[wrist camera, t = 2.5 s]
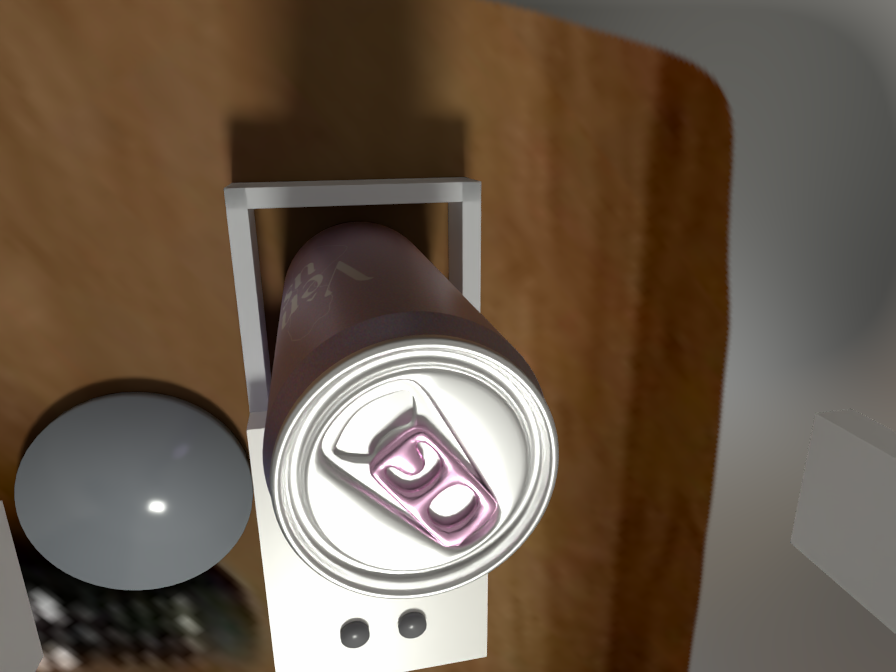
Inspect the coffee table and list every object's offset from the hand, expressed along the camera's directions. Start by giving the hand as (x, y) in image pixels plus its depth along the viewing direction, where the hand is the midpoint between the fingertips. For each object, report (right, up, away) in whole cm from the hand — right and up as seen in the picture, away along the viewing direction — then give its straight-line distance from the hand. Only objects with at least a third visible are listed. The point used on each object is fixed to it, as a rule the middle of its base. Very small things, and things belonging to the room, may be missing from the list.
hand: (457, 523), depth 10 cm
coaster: (-13, -3, +16) cm, 21 cm away
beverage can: (-4, +5, +16) cm, 17 cm away
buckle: (-4, -4, +18) cm, 19 cm away
